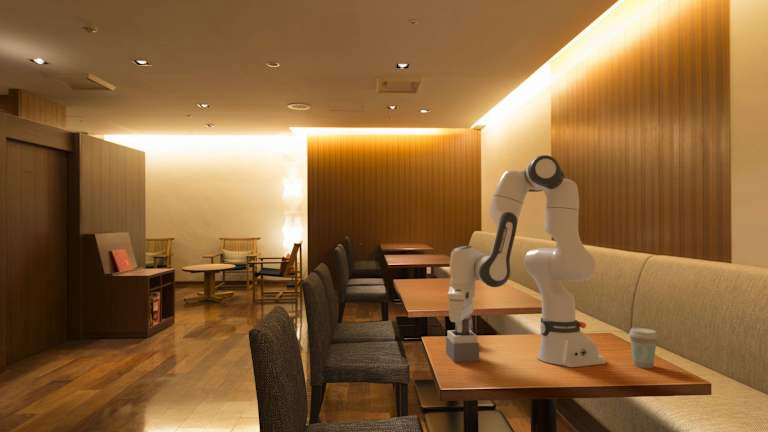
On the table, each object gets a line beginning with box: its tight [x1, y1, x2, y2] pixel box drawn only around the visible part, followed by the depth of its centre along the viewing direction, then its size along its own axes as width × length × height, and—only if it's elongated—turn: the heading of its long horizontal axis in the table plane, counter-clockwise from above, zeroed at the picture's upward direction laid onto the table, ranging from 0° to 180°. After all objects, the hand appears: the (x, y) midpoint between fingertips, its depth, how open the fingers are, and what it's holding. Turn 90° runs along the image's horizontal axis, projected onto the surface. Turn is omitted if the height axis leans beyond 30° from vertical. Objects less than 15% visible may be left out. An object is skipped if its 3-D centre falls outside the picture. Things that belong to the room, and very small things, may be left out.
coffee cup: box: [628, 327, 659, 369], centre depth 158 cm, size 9×8×12 cm
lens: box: [454, 316, 469, 336], centre depth 168 cm, size 5×5×8 cm
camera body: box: [445, 329, 480, 363], centre depth 168 cm, size 9×11×8 cm
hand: (462, 330), depth 168 cm, fingers closed on lens, 5 cm apart
